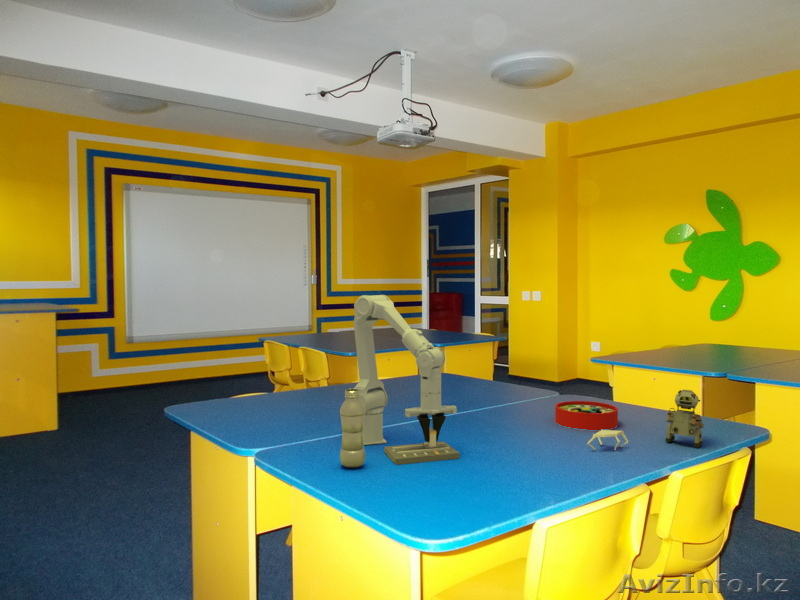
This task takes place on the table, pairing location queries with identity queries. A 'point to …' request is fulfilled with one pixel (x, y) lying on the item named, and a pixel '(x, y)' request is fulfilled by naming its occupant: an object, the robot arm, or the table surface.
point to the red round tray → (586, 415)
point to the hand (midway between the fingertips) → (431, 440)
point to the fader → (431, 440)
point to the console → (420, 453)
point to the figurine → (685, 418)
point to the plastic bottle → (352, 430)
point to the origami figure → (608, 434)
